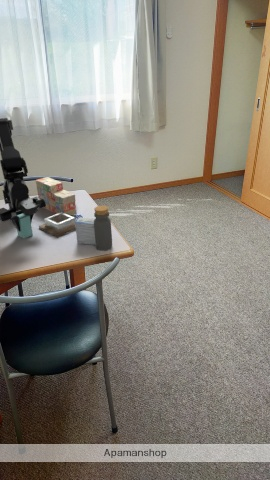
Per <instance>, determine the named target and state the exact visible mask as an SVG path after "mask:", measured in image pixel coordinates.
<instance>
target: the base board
mask: <svg viewBox="0 0 270 480" xmlns="http://www.w3.org/2000/svg"><path fill="white" fill-rule="evenodd" d="M60 222H62V220H61V221H59V222H56V223H60ZM38 227H39V229H40V230H42V231H44V232H46V233H48V234H50V235H52V236H55V237H57V238H59V237H62V236H63V235H64V236H65V235H66V234H69V233H71V232H73V231H76V227H75V225H73V226H71V227H68V228H66V229H64V230H61V231H59V232H58V231H55V230H53V229H51V228H49V227H47V226H45V223H43V224H40V225H39V226H38Z"/></svg>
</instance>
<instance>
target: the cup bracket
mask: <svg viewBox="0 0 270 480" xmlns="http://www.w3.org/2000/svg"><path fill="white" fill-rule="evenodd" d="M61 220H62V222H60V223H56V222H59V221H61ZM43 221H44V224H45V226H47V227H49V228H51V229H53V230H55V231H58V232H59V231H61V230H64V229H66V228H68V227H71V226H73V225H75V222H76V218H75V216H70V215H67V214H65V213H62V212H60V213H58V214H56V213H54V214H53V215H51V216H47V217H45V218H43Z"/></svg>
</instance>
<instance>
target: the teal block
mask: <svg viewBox="0 0 270 480" xmlns="http://www.w3.org/2000/svg"><path fill="white" fill-rule="evenodd" d="M17 216H18V217H19V219H18V221H19V225H20V232H19V231H18V230H17V229H16V233H17V236H18V237H20V238H22V239H26V238H29V237H31V236H34V235H33V233H34V232H33V228H32V222H31V221H30V216H26V215H24V213H22V214H20V215H17Z"/></svg>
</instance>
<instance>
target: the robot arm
mask: <svg viewBox="0 0 270 480" xmlns="http://www.w3.org/2000/svg"><path fill="white" fill-rule="evenodd" d="M12 131H14V126H13V122H12V119H11V120H8V118H7V117H5V118H4V117H3V118H0V158H1V159H0V168H1V172H2V175H3V179H4V182H3V184H2V185H3V186H2V187H3V189H2V197H3V201H4V204H5V205H8V208H5V207H1V208H0V222H6V221H10V222H12V224H13V226H14V227H15V229H16V231H17V230H18V231H19V232H20V225H19V221H18V219H19V217H18V216H17V215H20V214H22V213H24V215H26V216H30V221H31V223H32V222H33V217H34V214H37V212H38V211H39V210H38V209H43V208H44V207H45V206H46V202H45V200H44V199H42V198H39V197H38V196H33V197H31V198H30V195H29V192H30V190H29V188H28V185H27V183H26V182H25V180H24V179H25V177H28V173H29V171H28V170H29V169H28V167H27V163H26V160H25V159H24V158H23V157H22V156H21V153H20V151H19V150H18V149H16V148H15V144H14V141H13V137H12V136H13V133H12Z"/></svg>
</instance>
